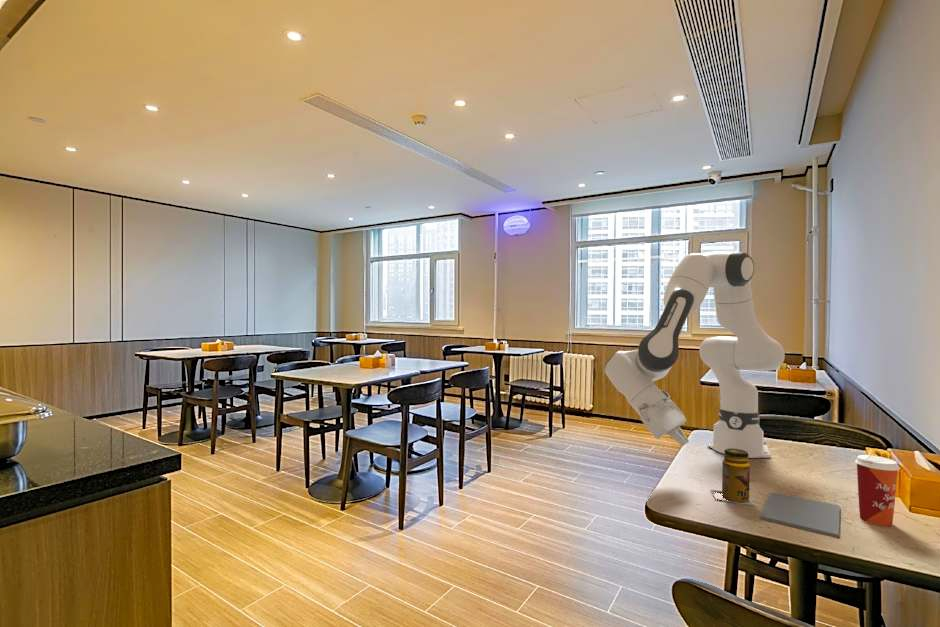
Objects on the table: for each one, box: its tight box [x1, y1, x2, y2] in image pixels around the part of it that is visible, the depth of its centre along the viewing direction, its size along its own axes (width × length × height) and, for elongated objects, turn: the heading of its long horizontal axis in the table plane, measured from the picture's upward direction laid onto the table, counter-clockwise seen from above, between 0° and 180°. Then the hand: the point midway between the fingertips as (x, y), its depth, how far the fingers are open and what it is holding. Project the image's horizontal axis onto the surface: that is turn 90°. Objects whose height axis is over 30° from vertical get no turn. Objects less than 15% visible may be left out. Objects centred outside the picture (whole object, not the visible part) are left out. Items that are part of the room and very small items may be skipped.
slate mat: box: [760, 491, 841, 538], centre depth 112 cm, size 20×14×1 cm
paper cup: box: [854, 454, 901, 527], centre depth 108 cm, size 8×8×14 cm
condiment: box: [710, 448, 755, 506], centre depth 121 cm, size 7×8×12 cm
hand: (685, 443), depth 127 cm, fingers closed
